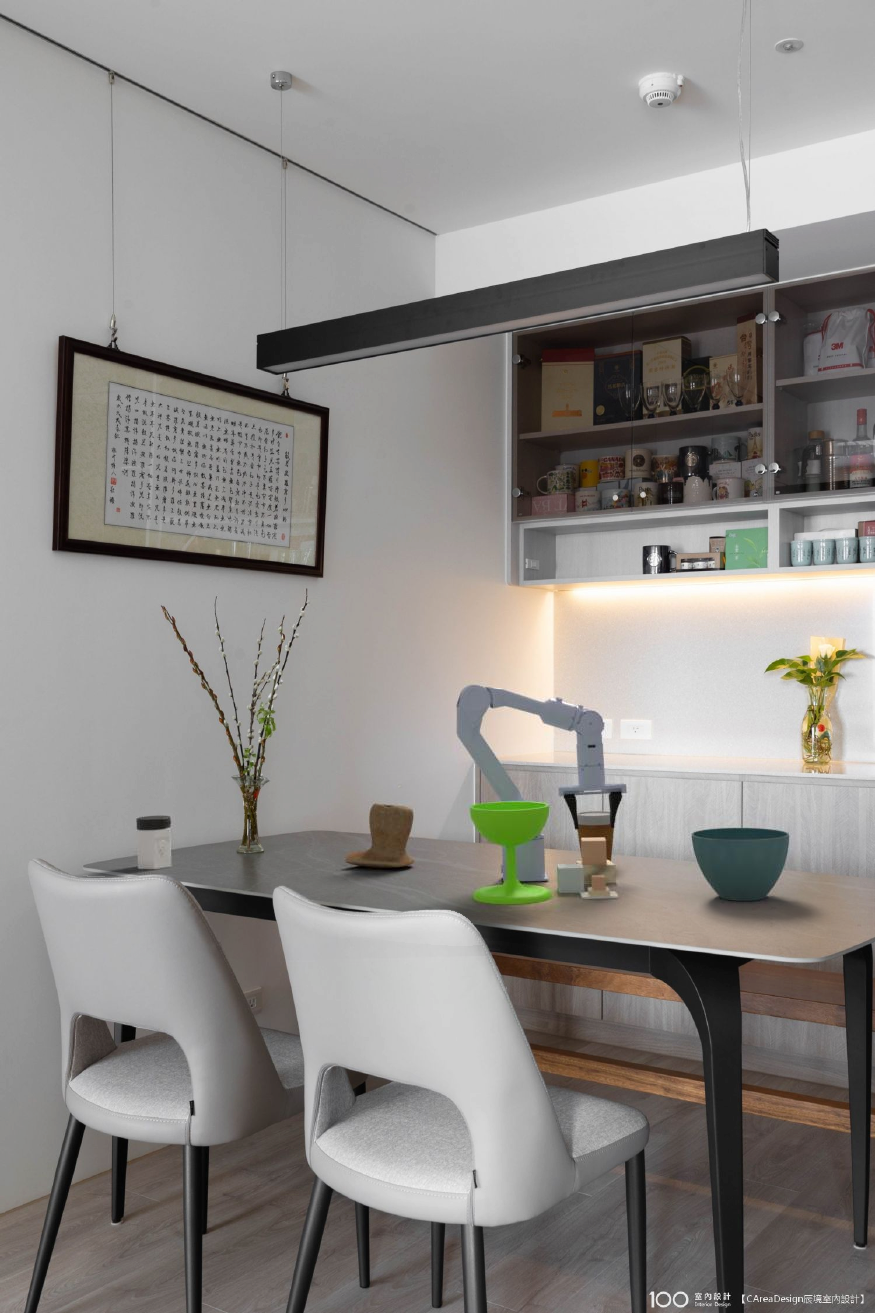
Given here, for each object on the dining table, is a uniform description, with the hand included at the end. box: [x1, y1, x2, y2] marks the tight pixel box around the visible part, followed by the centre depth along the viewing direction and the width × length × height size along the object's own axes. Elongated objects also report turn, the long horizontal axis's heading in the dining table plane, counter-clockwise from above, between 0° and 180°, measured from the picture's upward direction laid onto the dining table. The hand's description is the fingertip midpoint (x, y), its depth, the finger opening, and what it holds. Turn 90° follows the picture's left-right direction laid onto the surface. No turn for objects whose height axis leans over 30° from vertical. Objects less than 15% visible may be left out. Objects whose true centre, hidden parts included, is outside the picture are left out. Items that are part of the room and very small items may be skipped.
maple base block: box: [575, 860, 617, 885], centre depth 242 cm, size 7×7×4 cm
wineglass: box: [469, 800, 553, 905], centre depth 228 cm, size 16×16×18 cm
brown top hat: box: [344, 802, 415, 869], centre depth 269 cm, size 15×12×15 cm
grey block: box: [556, 863, 585, 894], centre depth 232 cm, size 5×5×5 cm
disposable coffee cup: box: [576, 810, 617, 862], centre depth 260 cm, size 10×10×12 cm
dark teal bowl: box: [691, 827, 790, 902], centre depth 220 cm, size 18×18×12 cm
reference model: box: [579, 875, 619, 900], centre depth 225 cm, size 7×5×4 cm
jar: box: [135, 815, 172, 870], centre depth 279 cm, size 9×8×12 cm
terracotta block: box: [580, 837, 607, 865], centre depth 242 cm, size 5×5×5 cm
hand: (594, 828), depth 247 cm, fingers open, 7 cm apart
